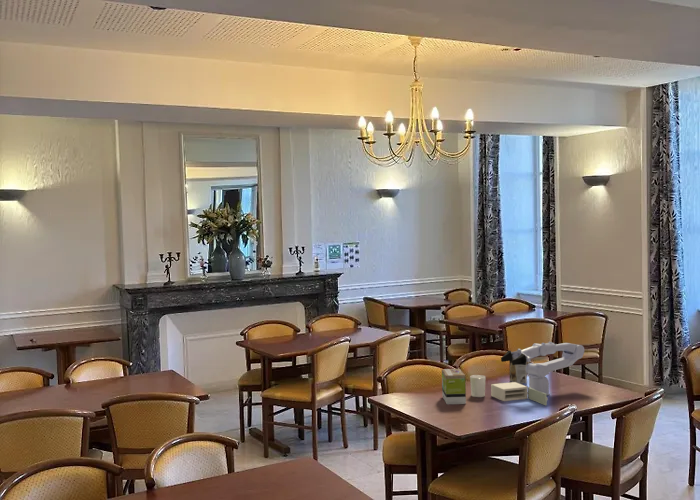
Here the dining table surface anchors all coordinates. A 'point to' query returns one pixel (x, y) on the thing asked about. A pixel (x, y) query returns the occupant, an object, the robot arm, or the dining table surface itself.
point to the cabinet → (509, 391)
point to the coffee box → (518, 373)
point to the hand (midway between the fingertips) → (506, 361)
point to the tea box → (453, 386)
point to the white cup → (477, 385)
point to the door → (537, 396)
